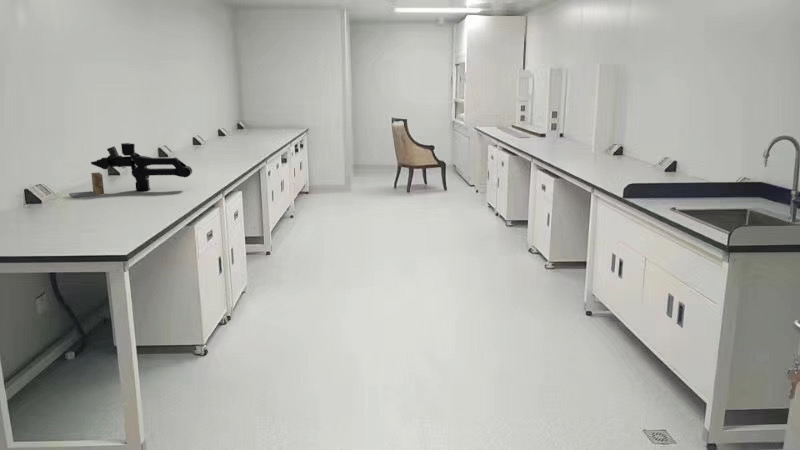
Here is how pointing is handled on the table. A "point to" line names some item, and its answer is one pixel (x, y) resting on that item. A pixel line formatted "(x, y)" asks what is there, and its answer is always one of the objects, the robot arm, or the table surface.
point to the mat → (82, 194)
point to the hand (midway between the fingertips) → (93, 161)
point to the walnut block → (97, 183)
